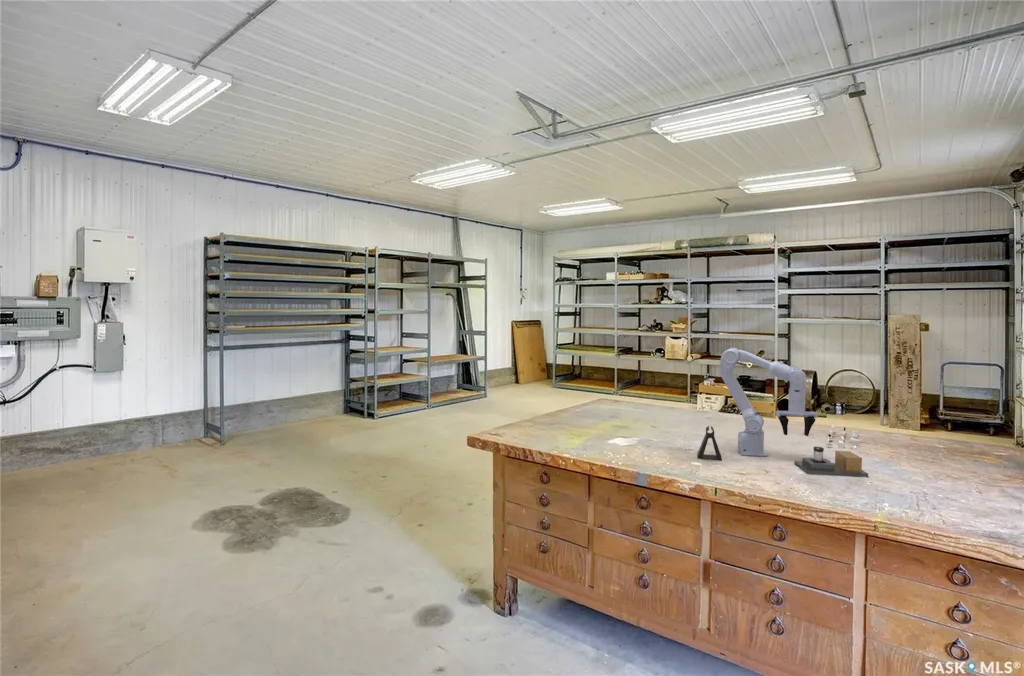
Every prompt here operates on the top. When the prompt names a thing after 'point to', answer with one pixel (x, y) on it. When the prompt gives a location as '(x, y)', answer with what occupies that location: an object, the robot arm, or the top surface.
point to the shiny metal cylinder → (818, 454)
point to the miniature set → (841, 443)
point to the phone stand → (703, 446)
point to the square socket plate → (834, 465)
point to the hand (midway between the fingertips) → (795, 435)
